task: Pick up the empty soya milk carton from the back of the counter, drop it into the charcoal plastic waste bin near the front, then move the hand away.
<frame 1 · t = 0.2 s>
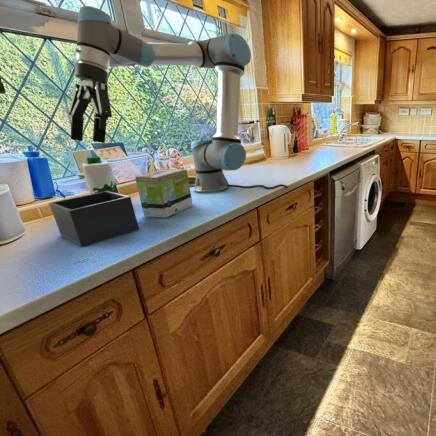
hand: (87, 141, 89), 28 cm above the countertop, tool tilted 20°, fingers open, 13 cm apart
toy sandwich meal: (196, 184, 155), on the countertop
waste bin: (100, 232, 95), on the countertop
tea box: (170, 211, 114), on the countertop
soya milk: (109, 209, 118), on the countertop
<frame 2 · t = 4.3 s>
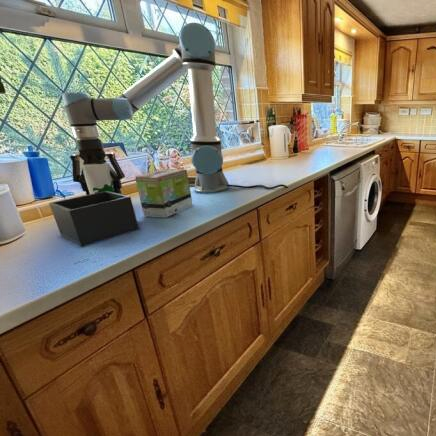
hand: (105, 198, 117), 5 cm above the countertop, tool pointing down, fingers closed on soya milk, 9 cm apart
soya milk: (109, 209, 118), on the countertop, touching gripper
everything else where it was.
when the fingers open (13 cm above the countertop, at t = 13.1 s): soya milk drops 8 cm, resting on waste bin.
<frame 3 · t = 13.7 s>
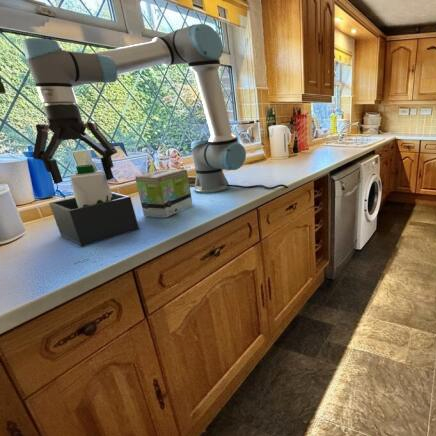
hand: (84, 180, 89), 17 cm above the countertop, tool pointing down, fingers open, 13 cm apart
soya milk: (104, 230, 95), point 1 cm above the countertop, touching waste bin
everything else where it was.
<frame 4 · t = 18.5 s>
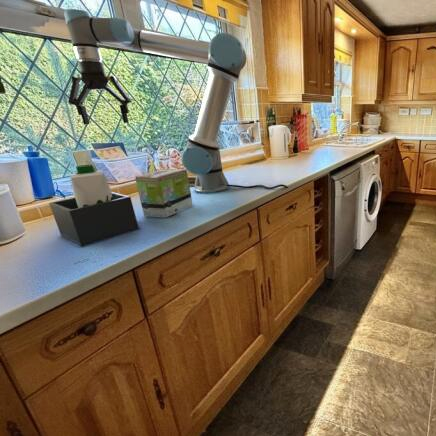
hand: (106, 123, 115), 32 cm above the countertop, tool pointing down, fingers open, 13 cm apart
nothing on the countertop moved.
at the end: soya milk inside the target area in the waste bin (1.3 cm from its centre), point 0.6 cm above the waste bin's base; the gripper is holding nothing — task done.
